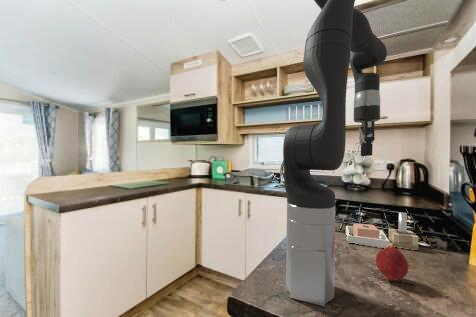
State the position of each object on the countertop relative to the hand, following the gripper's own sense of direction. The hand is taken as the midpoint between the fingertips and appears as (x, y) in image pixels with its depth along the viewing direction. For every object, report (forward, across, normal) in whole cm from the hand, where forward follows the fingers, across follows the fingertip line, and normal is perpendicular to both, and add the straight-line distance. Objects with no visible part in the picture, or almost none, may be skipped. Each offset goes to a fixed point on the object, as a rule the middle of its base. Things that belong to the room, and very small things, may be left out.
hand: (366, 155), depth 71 cm
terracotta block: (+27, 0, 0) cm, 27 cm away
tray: (+28, 0, 0) cm, 28 cm away
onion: (+28, +25, +2) cm, 38 cm away
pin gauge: (+28, 0, +10) cm, 29 cm away
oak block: (+28, 0, +10) cm, 29 cm away
